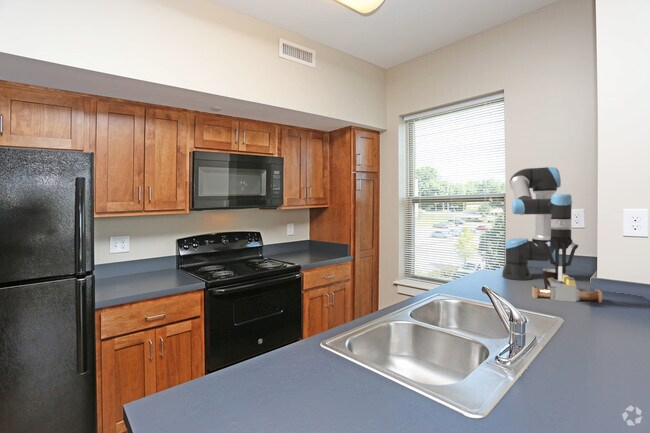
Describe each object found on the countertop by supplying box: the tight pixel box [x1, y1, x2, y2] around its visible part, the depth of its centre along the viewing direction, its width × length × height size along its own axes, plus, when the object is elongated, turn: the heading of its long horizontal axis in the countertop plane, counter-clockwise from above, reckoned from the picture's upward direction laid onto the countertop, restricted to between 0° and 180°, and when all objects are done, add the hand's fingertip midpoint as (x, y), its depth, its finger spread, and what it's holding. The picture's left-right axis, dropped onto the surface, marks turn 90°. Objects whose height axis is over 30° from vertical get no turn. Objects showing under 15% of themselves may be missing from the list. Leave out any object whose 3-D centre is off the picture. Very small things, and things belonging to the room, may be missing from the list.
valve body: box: [531, 279, 603, 303], centre depth 156 cm, size 8×26×8 cm, turn 70°
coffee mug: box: [542, 268, 572, 289], centre depth 170 cm, size 12×9×10 cm
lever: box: [560, 273, 576, 286], centre depth 151 cm, size 13×3×4 cm, turn 160°
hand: (560, 280), depth 150 cm, fingers closed
